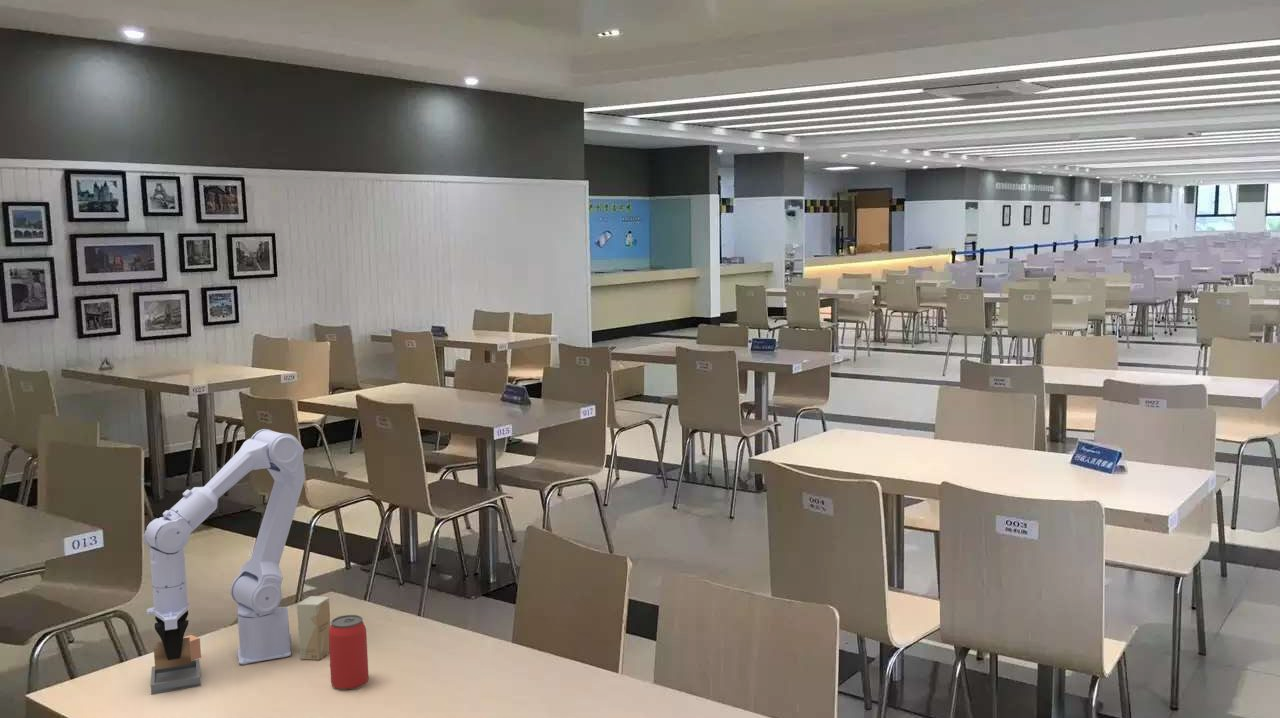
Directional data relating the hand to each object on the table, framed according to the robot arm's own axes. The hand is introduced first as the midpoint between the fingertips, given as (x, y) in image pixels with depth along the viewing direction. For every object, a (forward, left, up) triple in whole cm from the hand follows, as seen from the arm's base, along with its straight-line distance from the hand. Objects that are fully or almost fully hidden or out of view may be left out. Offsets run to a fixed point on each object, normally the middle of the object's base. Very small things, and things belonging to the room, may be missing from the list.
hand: (174, 654), depth 191 cm
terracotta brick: (-1, -10, -5) cm, 11 cm away
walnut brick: (0, 0, -2) cm, 2 cm away
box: (-25, -1, -5) cm, 26 cm away
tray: (0, 0, -5) cm, 5 cm away
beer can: (-29, +16, -5) cm, 34 cm away
